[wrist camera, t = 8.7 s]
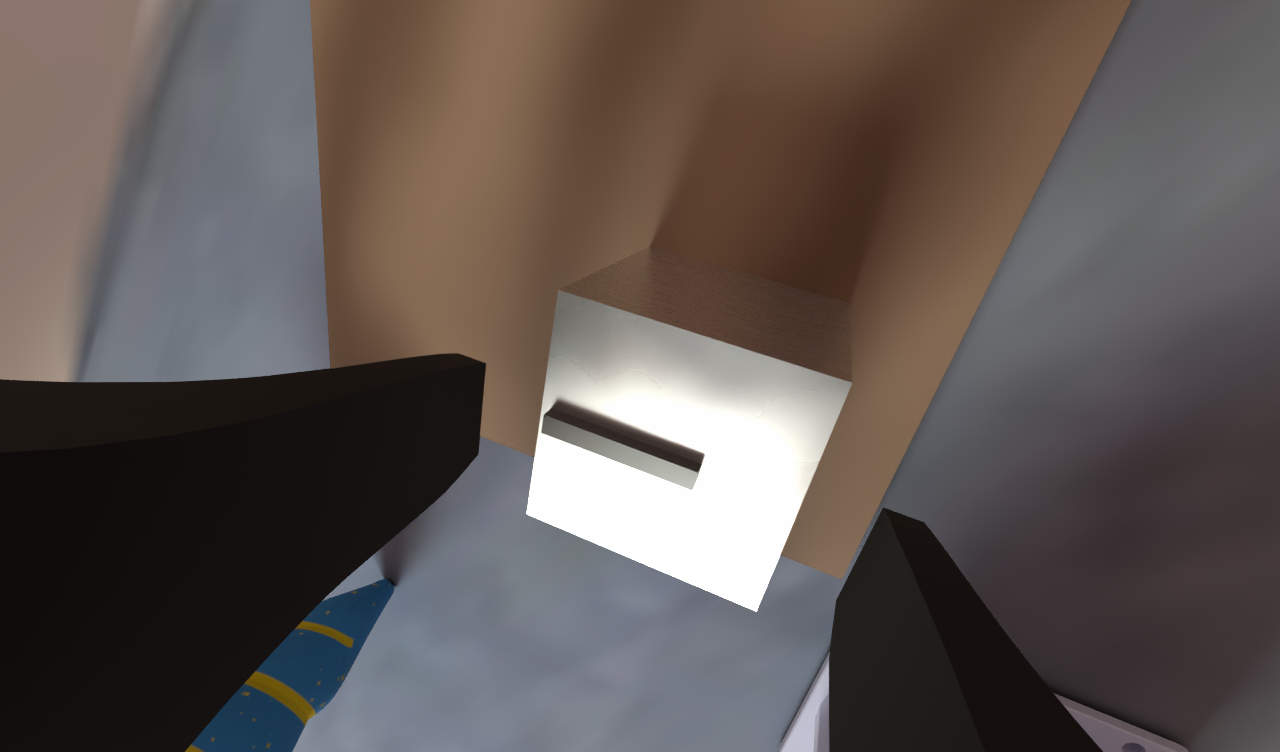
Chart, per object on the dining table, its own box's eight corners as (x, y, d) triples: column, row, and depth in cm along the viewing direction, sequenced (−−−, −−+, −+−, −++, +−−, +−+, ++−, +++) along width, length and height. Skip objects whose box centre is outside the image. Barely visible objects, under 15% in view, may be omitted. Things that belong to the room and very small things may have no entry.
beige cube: (850, 302, 13) (852, 390, 8) (782, 475, 15) (754, 623, 10) (650, 245, 14) (549, 293, 9) (614, 414, 16) (519, 522, 11)
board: (1166, -124, 10) (1478, -395, 5) (842, 545, 17) (840, 705, 12) (349, -207, 14) (78, -402, 9) (363, 362, 21) (216, 426, 16)
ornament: (402, 640, 26) (-31, 1117, 13) (327, 566, 26) (-186, 973, 13) (452, 597, 24) (-23, 1132, 11) (368, 514, 24) (-214, 955, 11)
